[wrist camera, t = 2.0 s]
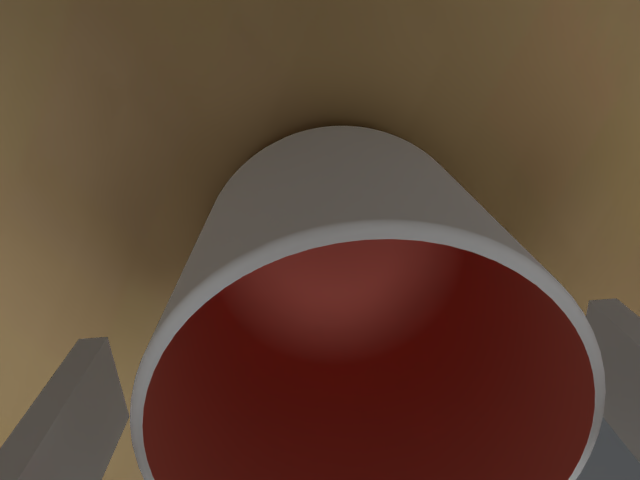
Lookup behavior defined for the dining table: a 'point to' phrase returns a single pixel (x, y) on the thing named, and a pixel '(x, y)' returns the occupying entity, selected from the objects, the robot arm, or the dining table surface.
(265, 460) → the cup
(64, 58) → the dining table surface
